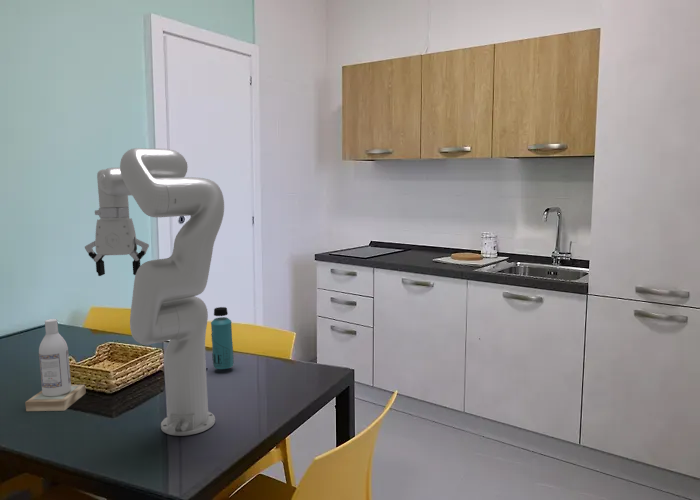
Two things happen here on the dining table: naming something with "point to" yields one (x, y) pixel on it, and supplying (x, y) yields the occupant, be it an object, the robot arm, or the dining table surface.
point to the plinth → (55, 400)
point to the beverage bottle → (222, 340)
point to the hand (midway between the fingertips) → (119, 274)
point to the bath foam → (54, 362)
